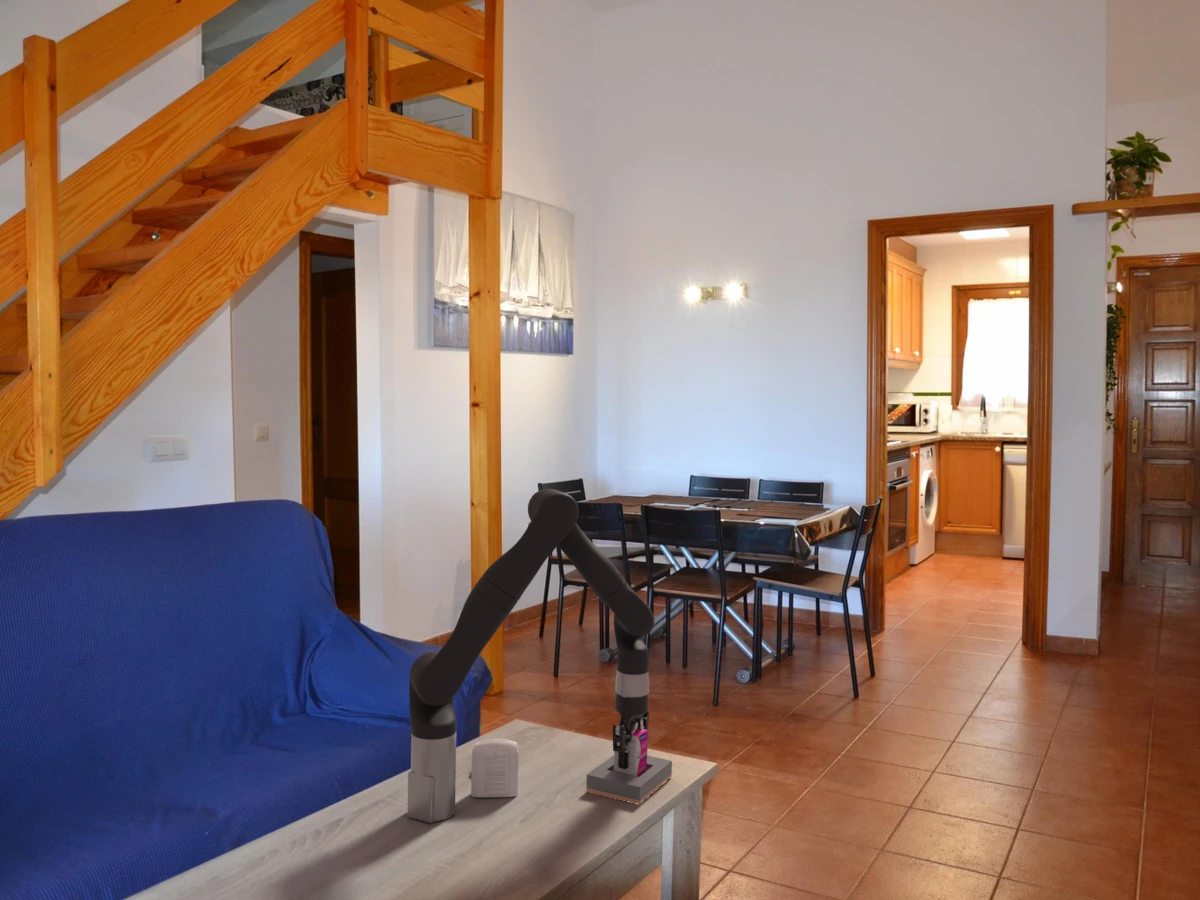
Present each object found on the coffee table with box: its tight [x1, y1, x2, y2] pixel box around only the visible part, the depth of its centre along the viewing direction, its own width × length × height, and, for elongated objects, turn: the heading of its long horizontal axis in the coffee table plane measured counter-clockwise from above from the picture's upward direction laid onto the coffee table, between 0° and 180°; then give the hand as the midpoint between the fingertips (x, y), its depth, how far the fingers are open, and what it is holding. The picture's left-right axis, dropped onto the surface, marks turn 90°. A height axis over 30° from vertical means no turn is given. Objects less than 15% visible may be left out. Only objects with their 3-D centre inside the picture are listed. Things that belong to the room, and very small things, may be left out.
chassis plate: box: [585, 754, 673, 805], centre depth 219 cm, size 17×13×4 cm
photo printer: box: [470, 738, 520, 798], centre depth 212 cm, size 10×4×12 cm, turn 98°
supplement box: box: [613, 729, 649, 777], centre depth 219 cm, size 6×6×12 cm
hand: (630, 762), depth 219 cm, fingers open, 6 cm apart
